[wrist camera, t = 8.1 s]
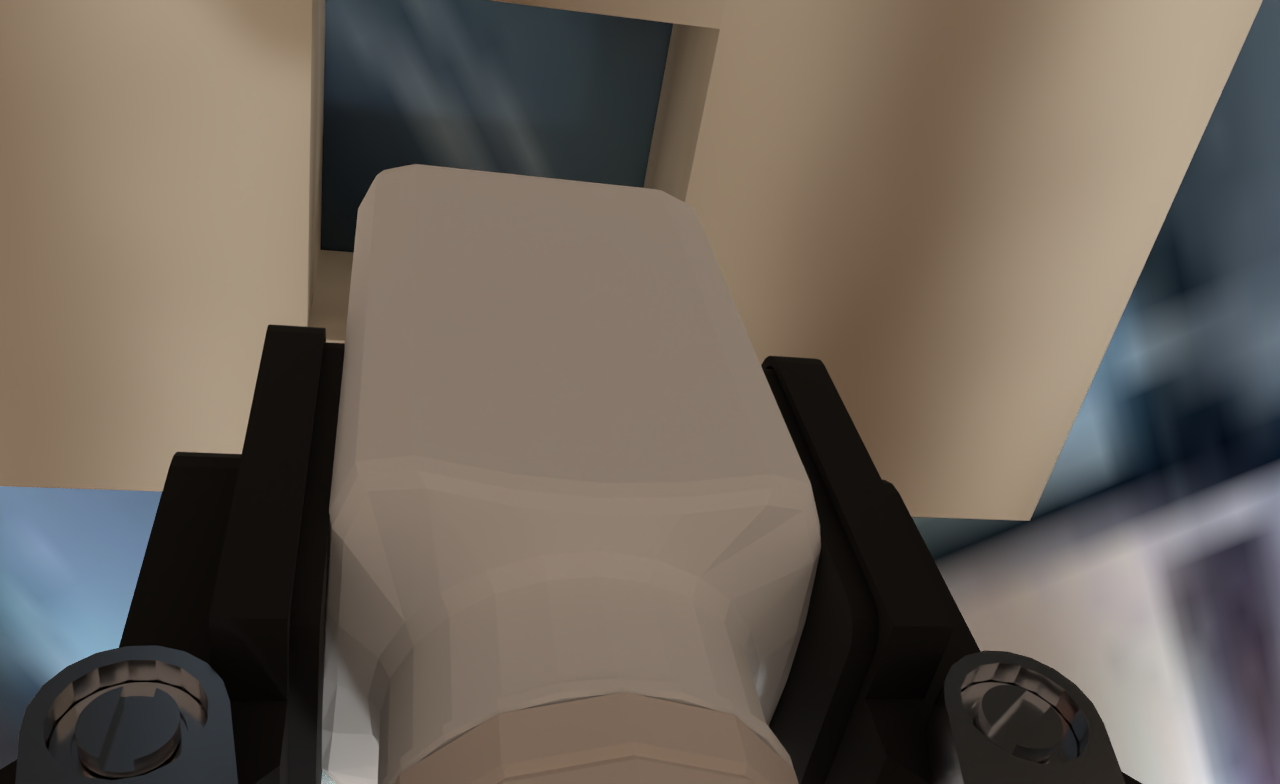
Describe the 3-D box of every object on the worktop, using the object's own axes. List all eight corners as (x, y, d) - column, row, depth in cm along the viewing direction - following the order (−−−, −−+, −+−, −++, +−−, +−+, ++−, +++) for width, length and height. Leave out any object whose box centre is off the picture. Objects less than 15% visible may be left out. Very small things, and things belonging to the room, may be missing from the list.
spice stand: (1205, -164, 19) (1318, -125, 17) (972, 430, 26) (1029, 520, 23) (-354, -439, 15) (-510, -441, 12) (-160, 372, 21) (-236, 477, 19)
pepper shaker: (642, 439, 17) (835, 1205, 9) (347, 423, 16) (273, 1260, 8) (702, 174, 14) (1028, 882, 7) (362, 137, 13) (284, 906, 6)
